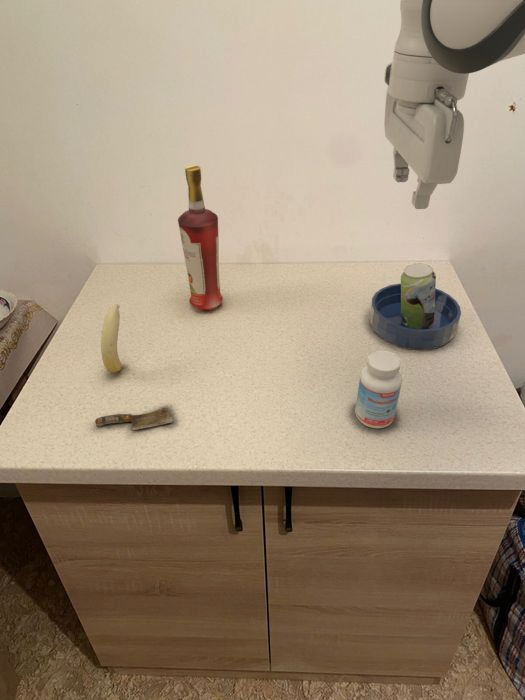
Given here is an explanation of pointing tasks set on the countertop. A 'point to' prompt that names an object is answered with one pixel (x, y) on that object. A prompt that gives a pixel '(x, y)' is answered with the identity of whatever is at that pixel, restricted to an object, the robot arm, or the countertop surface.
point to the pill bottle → (379, 390)
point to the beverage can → (418, 296)
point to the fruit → (111, 340)
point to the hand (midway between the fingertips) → (409, 193)
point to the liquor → (200, 246)
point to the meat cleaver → (138, 419)
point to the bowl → (395, 332)
